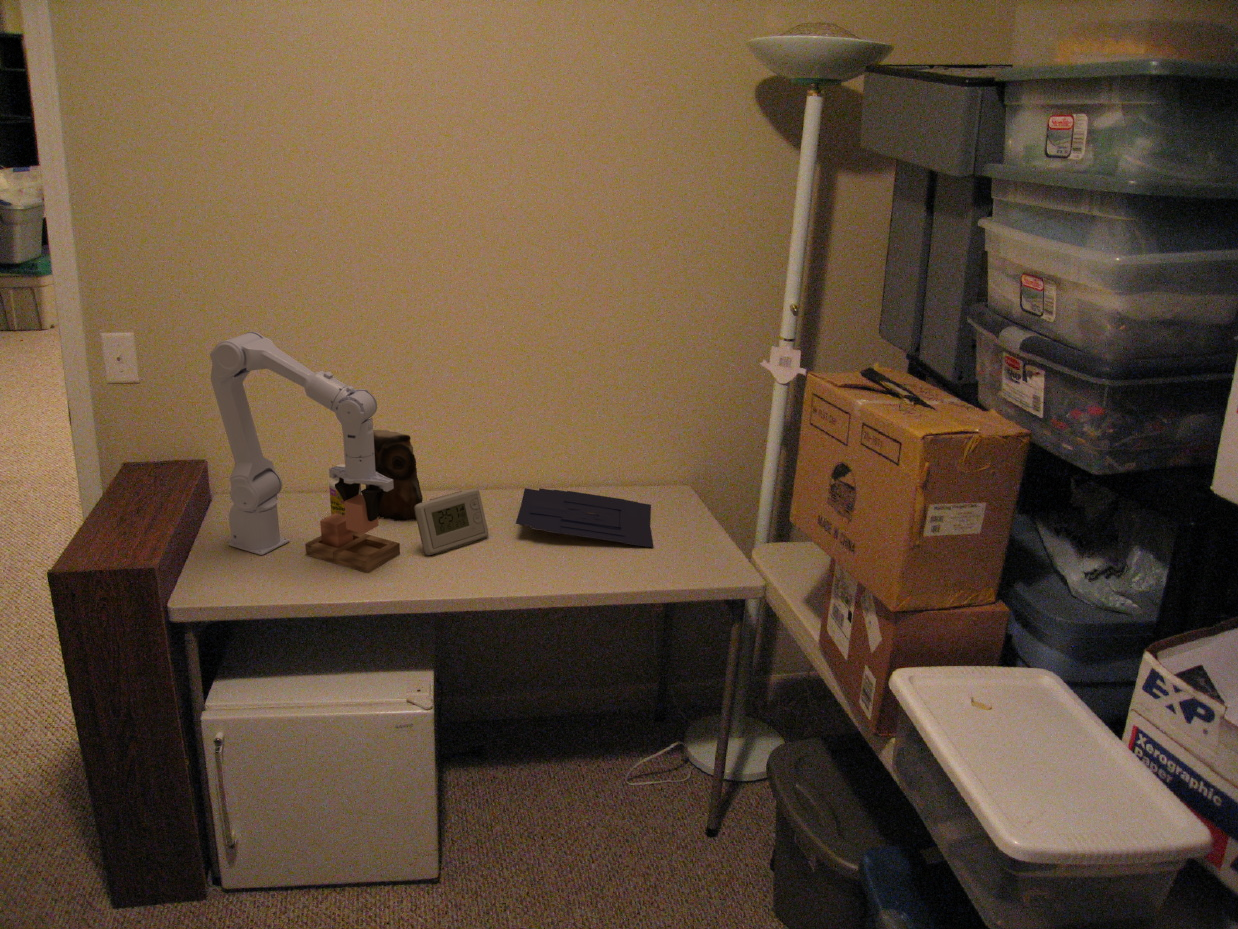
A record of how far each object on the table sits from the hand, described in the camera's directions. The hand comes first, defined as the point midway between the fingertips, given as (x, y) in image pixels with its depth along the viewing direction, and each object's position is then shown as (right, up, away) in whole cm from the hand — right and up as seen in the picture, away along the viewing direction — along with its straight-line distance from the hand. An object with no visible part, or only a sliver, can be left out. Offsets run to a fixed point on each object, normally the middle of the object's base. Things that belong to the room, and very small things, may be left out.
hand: (363, 516), depth 192 cm
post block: (0, -2, 0) cm, 2 cm away
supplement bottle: (-9, -2, +20) cm, 22 cm away
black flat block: (+44, -3, +25) cm, 50 cm away
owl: (+1, 0, +27) cm, 27 cm away
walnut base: (-3, -8, +5) cm, 10 cm away
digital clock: (+16, -7, +12) cm, 21 cm away
